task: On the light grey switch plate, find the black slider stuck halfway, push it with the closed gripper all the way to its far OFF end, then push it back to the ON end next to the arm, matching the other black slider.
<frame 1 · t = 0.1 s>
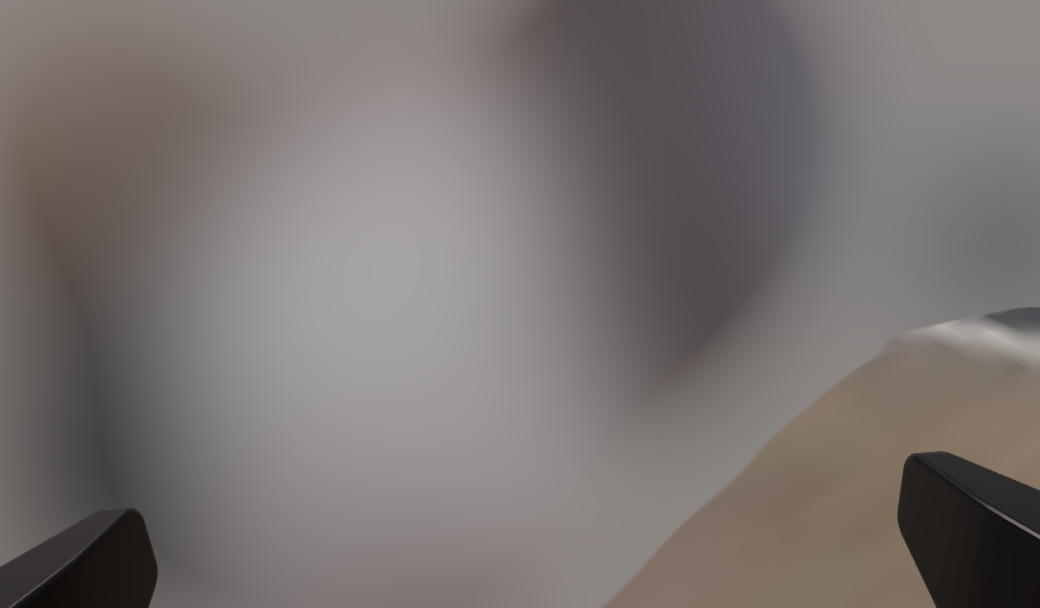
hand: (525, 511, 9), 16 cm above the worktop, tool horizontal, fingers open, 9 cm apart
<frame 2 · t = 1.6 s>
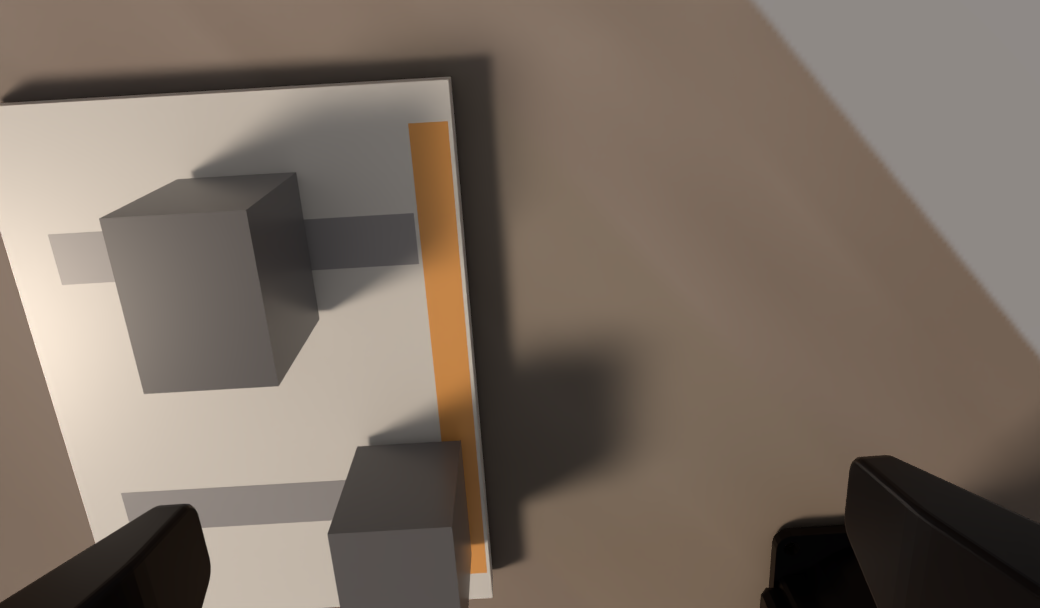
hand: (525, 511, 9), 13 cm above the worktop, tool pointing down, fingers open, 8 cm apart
switch plate: (271, 369, 23), on the worktop
slider tripped: (224, 276, 18), point 3 cm above the worktop, slide at 3.5 cm
slider on: (408, 545, 21), point 3 cm above the worktop, slide at 0.0 cm
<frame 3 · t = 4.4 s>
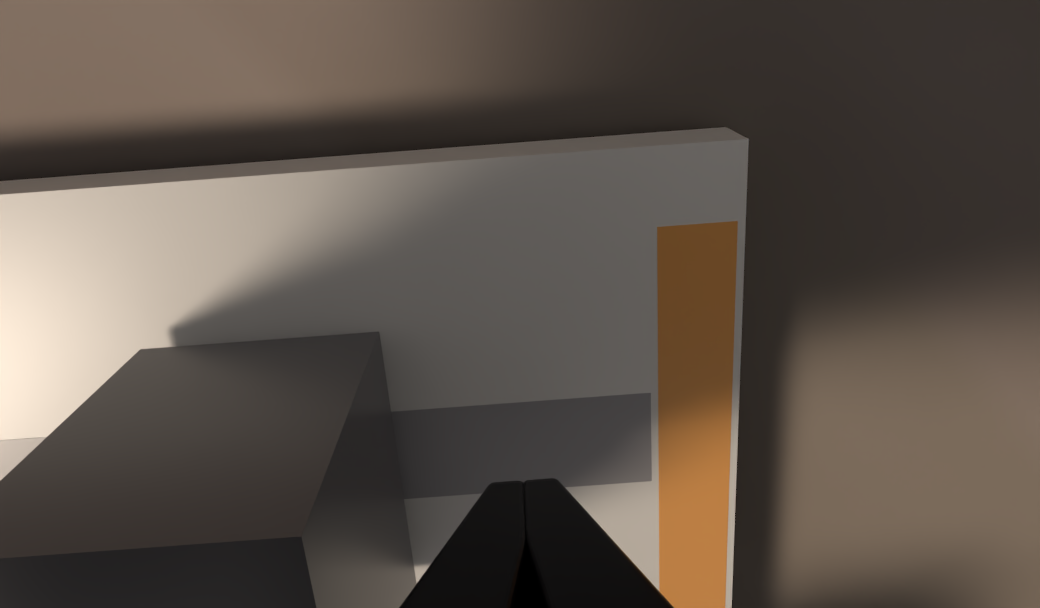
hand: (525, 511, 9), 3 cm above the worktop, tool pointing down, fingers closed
slider tripped: (241, 579, 8), point 3 cm above the worktop, slide at 4.2 cm, touching gripper
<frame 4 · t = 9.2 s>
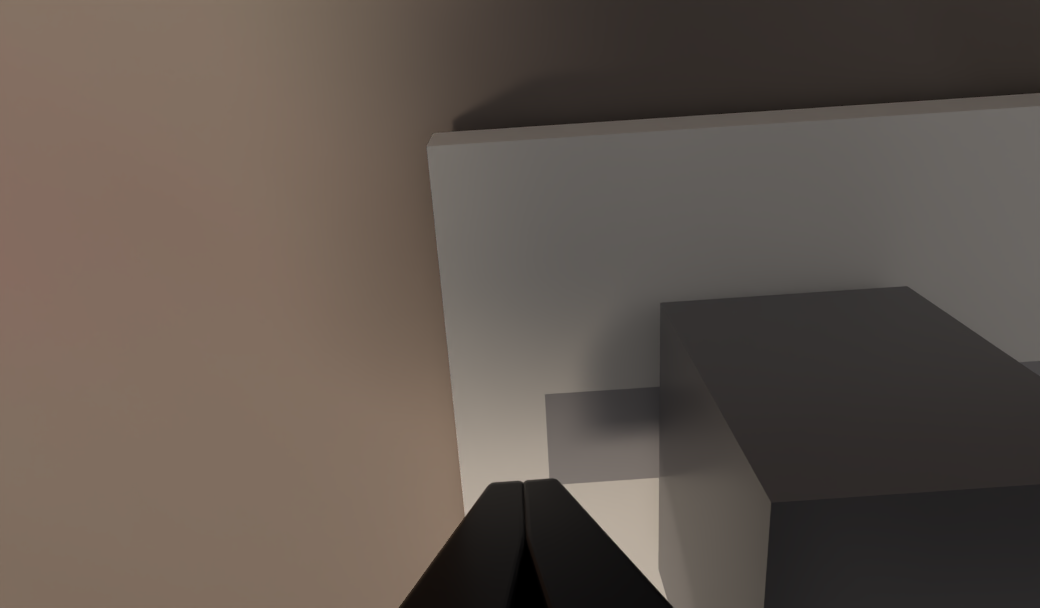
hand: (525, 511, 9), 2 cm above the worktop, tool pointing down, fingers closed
switch plate: (844, 598, 13), on the worktop
slider tripped: (837, 536, 8), point 3 cm above the worktop, slide at 5.8 cm, touching gripper
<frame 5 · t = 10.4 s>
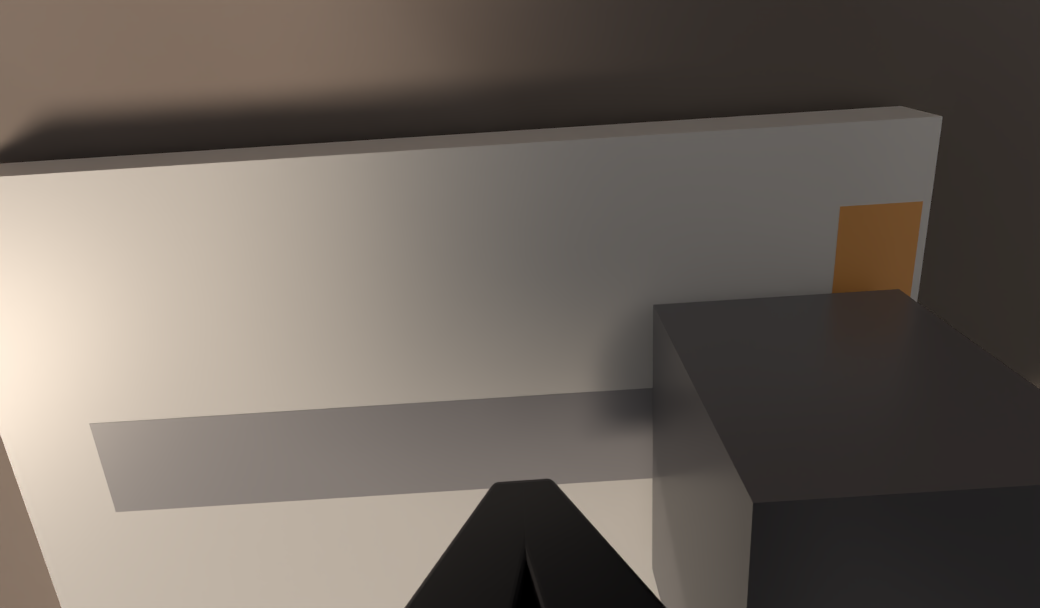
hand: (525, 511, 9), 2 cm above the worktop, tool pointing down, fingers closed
slider tripped: (826, 537, 8), point 3 cm above the worktop, slide at -0.1 cm, touching gripper
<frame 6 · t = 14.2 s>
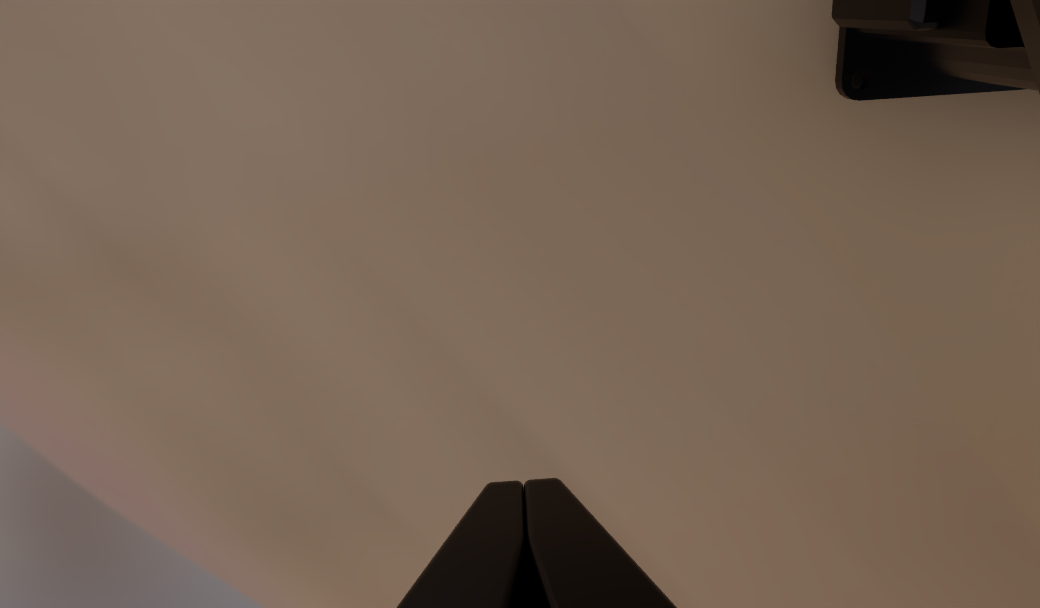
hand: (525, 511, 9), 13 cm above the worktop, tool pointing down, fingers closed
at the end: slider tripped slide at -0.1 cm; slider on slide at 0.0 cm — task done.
